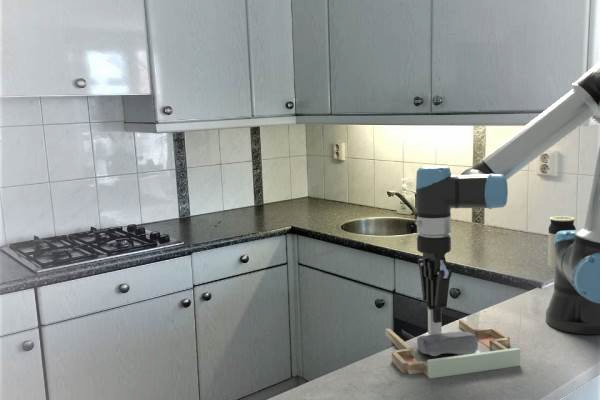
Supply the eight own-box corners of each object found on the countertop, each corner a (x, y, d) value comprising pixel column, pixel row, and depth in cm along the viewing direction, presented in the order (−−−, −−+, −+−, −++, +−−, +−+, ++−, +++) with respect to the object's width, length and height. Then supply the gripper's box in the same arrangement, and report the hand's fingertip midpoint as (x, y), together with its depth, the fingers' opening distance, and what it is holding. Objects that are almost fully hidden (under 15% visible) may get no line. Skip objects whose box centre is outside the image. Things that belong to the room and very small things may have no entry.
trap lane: (477, 325, 144) (477, 311, 143) (537, 363, 120) (537, 347, 120) (369, 338, 138) (369, 324, 137) (411, 381, 114) (410, 364, 114)
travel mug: (572, 276, 184) (574, 220, 181) (545, 274, 188) (546, 219, 186) (576, 270, 190) (577, 216, 188) (550, 268, 195) (551, 215, 192)
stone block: (463, 323, 133) (480, 336, 123) (463, 343, 133) (480, 358, 123) (412, 326, 132) (425, 339, 122) (412, 346, 132) (425, 362, 122)
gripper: (407, 230, 138) (408, 326, 141) (430, 240, 125) (431, 346, 128) (436, 228, 139) (437, 323, 142) (462, 238, 127) (463, 342, 130)
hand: (434, 334), depth 135 cm, fingers closed
